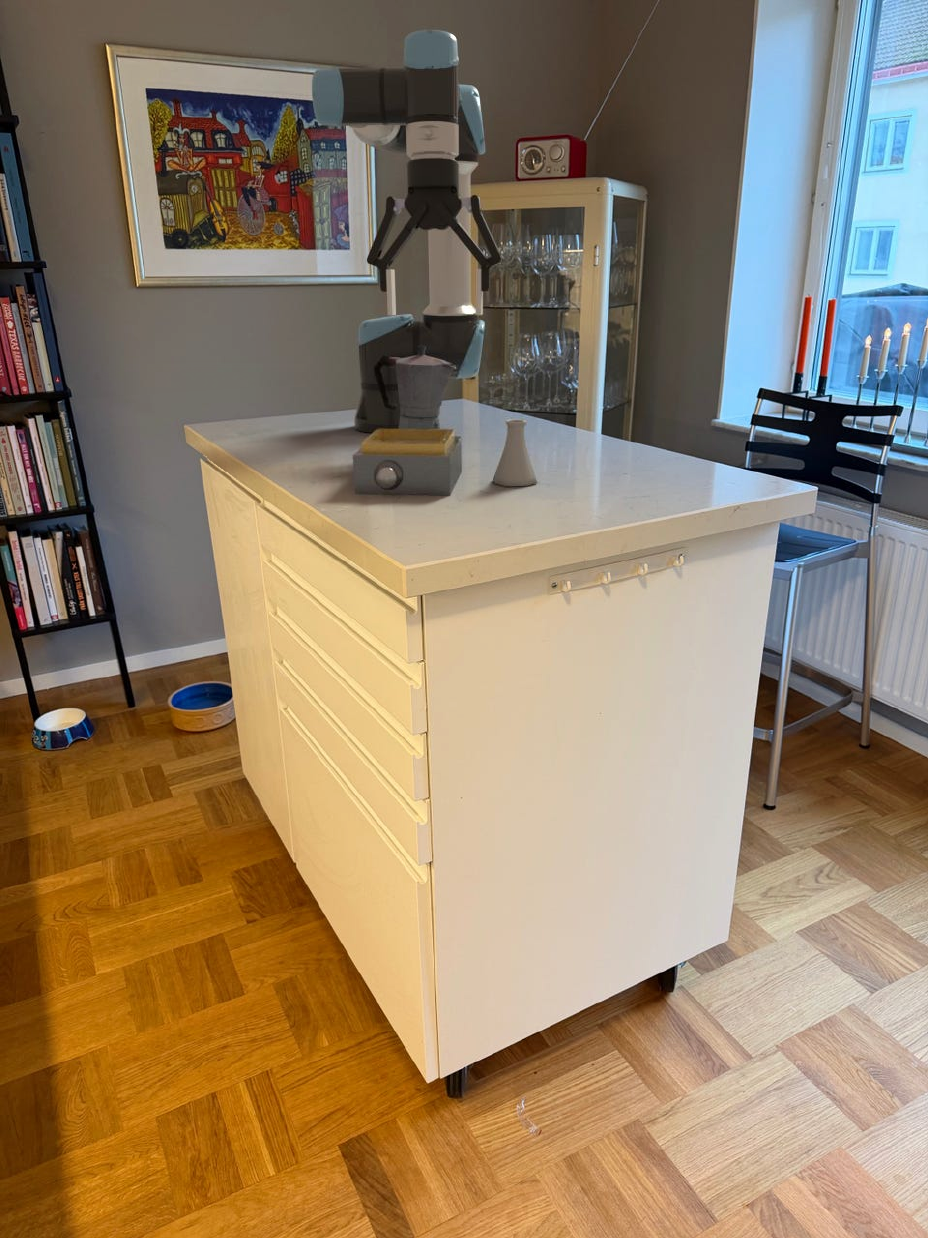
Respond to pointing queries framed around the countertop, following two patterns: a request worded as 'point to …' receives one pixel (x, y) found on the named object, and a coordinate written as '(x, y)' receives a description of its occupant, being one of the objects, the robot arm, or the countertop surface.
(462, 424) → the countertop surface
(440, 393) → the moka pot
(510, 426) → the flask
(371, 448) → the plate
